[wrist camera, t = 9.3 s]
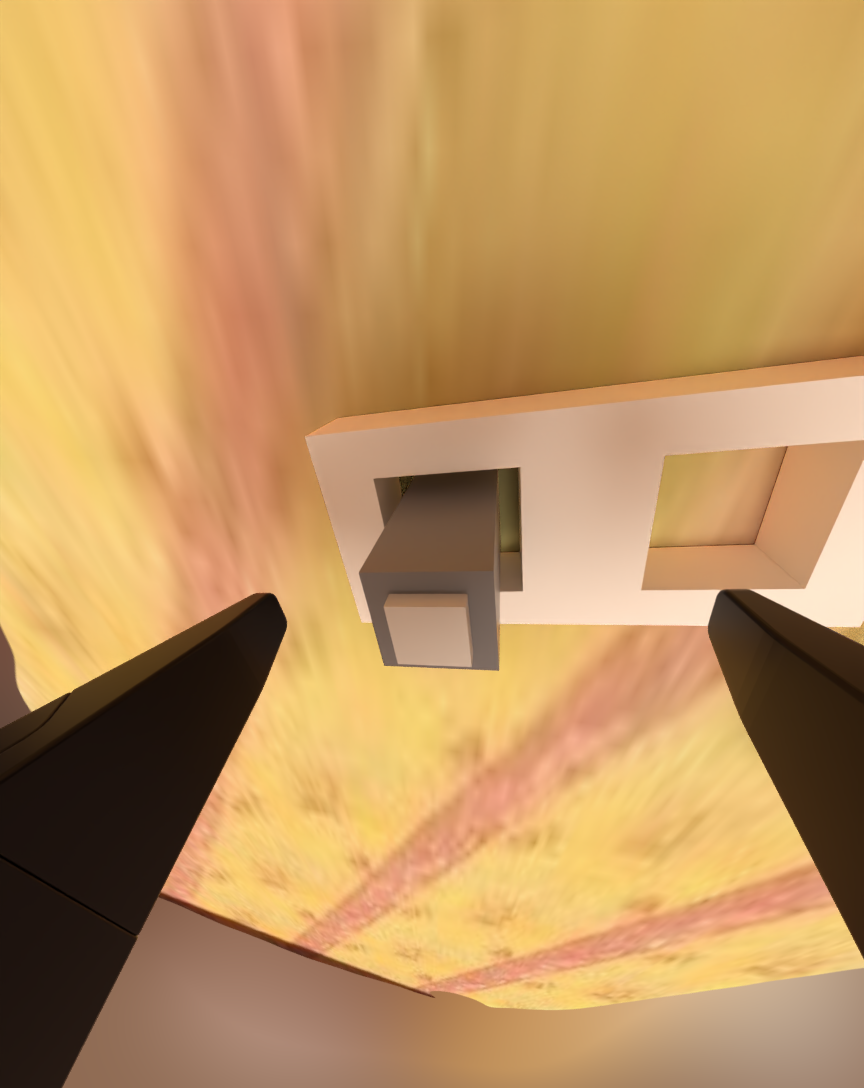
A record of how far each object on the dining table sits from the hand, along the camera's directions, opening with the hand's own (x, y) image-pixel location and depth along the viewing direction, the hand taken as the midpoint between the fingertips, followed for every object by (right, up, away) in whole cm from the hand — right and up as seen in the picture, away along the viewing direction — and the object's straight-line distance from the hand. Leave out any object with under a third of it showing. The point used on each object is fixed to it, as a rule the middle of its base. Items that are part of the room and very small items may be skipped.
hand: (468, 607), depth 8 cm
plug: (+1, +3, +12) cm, 12 cm away
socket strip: (+6, +4, +10) cm, 13 cm away
